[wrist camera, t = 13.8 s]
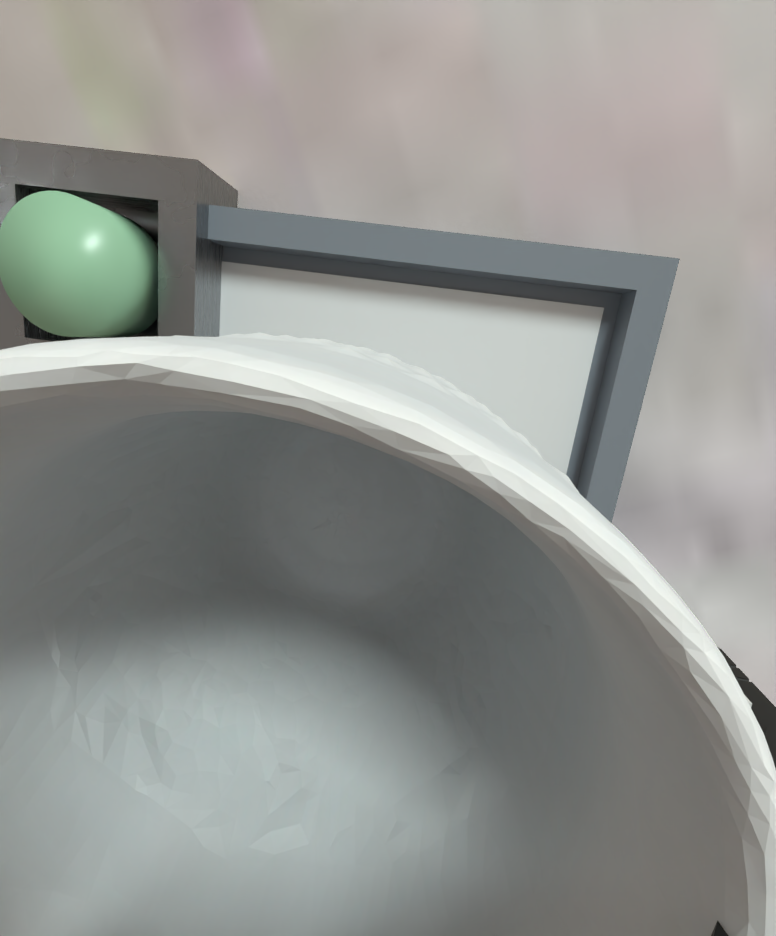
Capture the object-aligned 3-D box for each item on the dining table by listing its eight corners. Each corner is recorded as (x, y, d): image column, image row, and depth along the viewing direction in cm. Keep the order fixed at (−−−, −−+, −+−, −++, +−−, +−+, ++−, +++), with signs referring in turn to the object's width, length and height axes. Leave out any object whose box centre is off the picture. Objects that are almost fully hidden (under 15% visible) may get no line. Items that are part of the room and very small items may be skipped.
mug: (652, 570, 17) (1317, 1200, 5) (434, 749, 20) (472, 1490, 7) (339, 264, 15) (-25, -125, 3) (138, 505, 18) (-568, 919, 5)
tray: (186, 667, 22) (160, 700, 20) (195, 217, 18) (163, 199, 15) (536, 727, 21) (547, 769, 19) (648, 269, 17) (679, 258, 14)
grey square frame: (59, 365, 19) (-7, 369, 17) (49, 169, 18) (-26, 135, 15) (229, 388, 19) (192, 396, 16) (237, 190, 17) (197, 160, 14)
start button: (58, 330, 17) (2, 328, 15) (51, 205, 16) (-10, 183, 14) (167, 344, 17) (126, 344, 15) (168, 219, 16) (124, 198, 14)
